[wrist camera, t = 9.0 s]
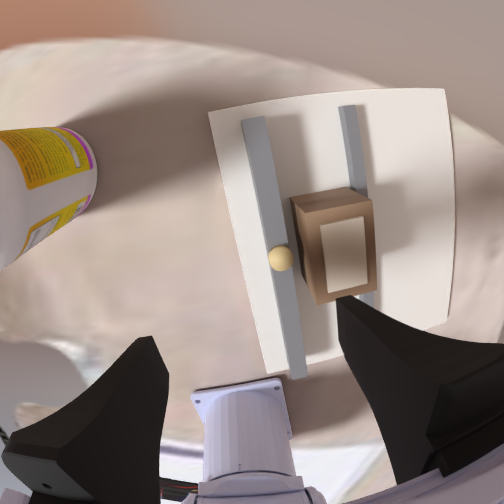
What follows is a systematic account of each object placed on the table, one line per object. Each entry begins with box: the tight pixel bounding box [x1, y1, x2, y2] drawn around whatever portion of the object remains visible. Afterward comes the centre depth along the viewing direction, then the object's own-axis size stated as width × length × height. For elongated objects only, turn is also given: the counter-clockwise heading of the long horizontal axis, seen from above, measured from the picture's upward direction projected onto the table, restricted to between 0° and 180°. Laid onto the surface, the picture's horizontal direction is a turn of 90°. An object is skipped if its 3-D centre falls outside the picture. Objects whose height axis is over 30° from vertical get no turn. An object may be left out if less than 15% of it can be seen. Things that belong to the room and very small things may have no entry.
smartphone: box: [159, 477, 198, 502], centre depth 33 cm, size 7×1×15 cm
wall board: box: [208, 88, 455, 380], centre depth 20 cm, size 20×17×4 cm
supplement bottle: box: [0, 127, 97, 271], centre depth 13 cm, size 7×7×13 cm
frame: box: [289, 187, 377, 305], centre depth 19 cm, size 6×4×4 cm
